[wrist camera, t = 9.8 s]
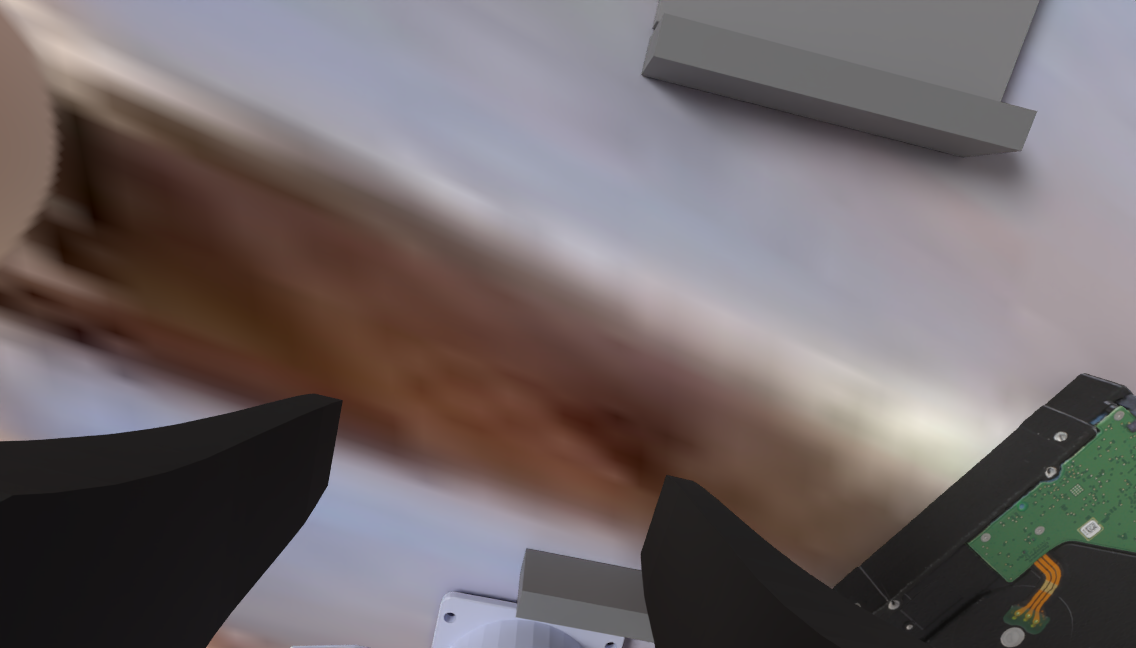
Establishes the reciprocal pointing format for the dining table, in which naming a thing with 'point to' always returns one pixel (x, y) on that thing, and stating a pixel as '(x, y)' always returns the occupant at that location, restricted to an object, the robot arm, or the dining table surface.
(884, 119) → the grey flat panel
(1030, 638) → the disk drive
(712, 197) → the dining table surface
